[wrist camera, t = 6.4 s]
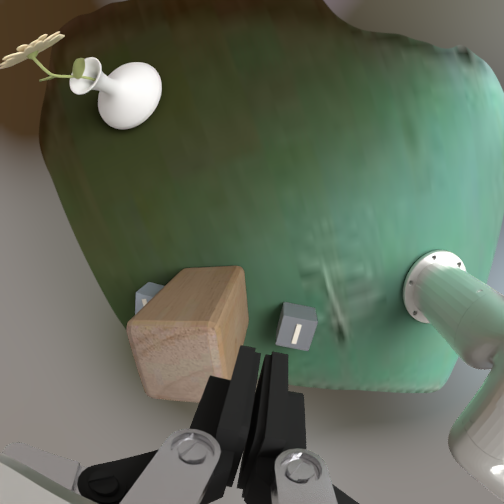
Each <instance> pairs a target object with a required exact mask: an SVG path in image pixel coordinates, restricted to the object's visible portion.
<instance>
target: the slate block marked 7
mask: <svg viewBox="0 0 504 504" xmlns="http://www.w3.org/2000/svg"><path fill="white" fill-rule="evenodd" d="M163 287H164V286H163V285H159V284H155V283H151V282H148V283H147V284H145V285H144V286H143V287H142V288H141V289H139V290H138V291H137V292H136V302H135V315H136V314H137V313H138V312H139V311H140V310H141V309H142V308H143V307H144V306H145V305H146V304H147V303H148V302H149V301H150V300H151V299H152V298H153V297H154V296H155V295H156V294H157V293H158V292H159V291H160V290H161V289H162V288H163Z"/></svg>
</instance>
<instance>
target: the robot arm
mask: <svg viewBox="0 0 504 504" xmlns="http://www.w3.org/2000/svg"><path fill="white" fill-rule="evenodd" d="M432 256H433V257H432ZM409 281H410V282H409ZM403 300H404V304H405V307H406V309H407V311H408V312H409V314H410V315H411V316H412V317H413V318H414V319H416V320H417V321H420V322H422V323H431V324H432V325H433V326H434V328H435V329H436V330H437V331H438V332H439V333H440V334H441V336H442V337H443V338H444V339H445V340H446V341H447V343H448V344H449V345H450V346H451V347H452V348H453V350H454V351H455V352H456V353H457V354H458V356H459V357H460V358H461V359H462V360H463V361H464V362H465V363H466V364H467V365H469V366H471V367H473V368H476V369H484V370H485V369H491V371H490V373H489V374H488V376H487V378H486V379H485V381H484V383H483V385H482V386H481V388H480V389H479V390H478V392H477V393H476V395H475V396H474V397H473V399H472V400H471V401H470V403H469V404H468V406H467V407H466V408H465V409H464V411H463V412H462V413H461V415H460V416H459V417H458V419H457V420H456V421H455V423H454V424H453V426H452V428H451V430H450V433H449V436H448V446H449V449H450V452H451V454H452V456H453V457H454V459H455V460H456V462H457V463H458V464H459V465H460V466H461V467H462V468H463V469H464V470H465V471H466V472H467V473H469V474H470V475H471V476H472V477H473V478H474V479H476V480H477V481H478V482H479V483H480V484H482V485H483V486H484V487H485V488H487V489H488V490H489V491H490V492H491V493H493V494H494V495H495V496H496V497H498V498H499V499H500V500H501V501H503V502H504V296H503V295H502V294H500V293H499V292H497V291H496V290H494V289H493V288H491V287H489V286H488V285H486V284H485V283H483V282H482V281H480V280H478V279H477V278H475V277H474V276H472V275H470V274H469V273H467V272H466V269H465V266H464V264H463V262H462V261H461V259H460V258H459V257H458V256H456V255H455V254H454V253H452V252H450V251H446V250H435V251H431V252H429V253H426V254H425V255H423V256H422V257H420V258H419V259H418V260H417V261H416V262H415V263H414V265H413V266H412V267H411V269H410V271H409V272H408V274H407V277H406V279H405V282H404V287H403ZM255 349H256V348H252V347H248V346H243V345H240V348H239V352H238V355H237V359H236V363H235V366H234V370H233V374H232V377H231V380H228V379H224V378H219V377H215V376H211V375H210V377H209V379H208V381H207V384H206V387H205V389H204V392H203V395H202V397H201V400H200V403H199V405H198V408H197V411H196V413H195V416H194V418H193V421H192V424H191V426H190V429H182V430H178V431H176V432H174V433H172V434H171V435H170V436H169V437H168V438H167V439H166V441H165V442H164V443H163V445H162V446H161V448H160V449H159V450H155V451H152V452H148V453H145V454H141V455H137V456H134V457H129V458H125V459H121V460H117V461H112V462H107V463H103V464H98V465H94V466H91V467H85V466H82V465H80V463H79V462H77V461H74V460H70V459H67V458H64V457H61V456H58V455H55V454H52V453H49V452H46V451H43V450H41V449H38V448H35V447H33V446H30V445H28V444H25V443H20V442H16V443H11V444H9V445H7V446H6V447H5V449H4V450H3V452H2V453H0V504H209V503H210V502H213V501H215V500H217V499H219V498H222V497H223V494H224V491H225V488H226V486H229V487H232V485H233V481H234V478H235V475H236V472H237V469H238V466H239V463H240V460H241V457H242V462H241V468H240V473H239V479H238V484H237V488H240V489H243V494H242V497H243V498H244V501H245V502H246V503H247V504H359V503H358V502H356V501H355V500H353V499H352V498H350V497H349V496H348V495H346V494H345V493H344V492H342V491H341V490H339V489H338V488H337V487H335V486H334V485H333V484H332V482H331V478H330V475H329V471H328V468H327V465H326V463H325V461H324V460H323V459H322V458H321V457H320V456H319V455H317V454H316V453H314V452H312V451H309V450H306V429H305V408H304V395H303V394H302V393H296V392H290V391H288V354H283V353H277V352H272V354H271V355H265V358H264V362H263V366H262V370H261V373H260V377H259V381H258V385H257V388H256V383H257V376H258V370H259V363H260V356H261V353H256V352H255ZM255 390H256V392H255ZM242 453H243V456H242Z"/></svg>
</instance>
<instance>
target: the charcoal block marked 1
mask: <svg viewBox="0 0 504 504" xmlns="http://www.w3.org/2000/svg"><path fill="white" fill-rule="evenodd" d="M317 323H318V320H317V315H316V311H315V308H313V307H308V306H303V305H298V304H293V303H288V302H283V306H282V310H281V314H280V318H279V322H278V326H277V329H276V345H279V346H284V347H289V348H294V349H300V350H305V351H309V348H310V345H311V342H312V339H313V336H314V333H315V330H316V327H317Z"/></svg>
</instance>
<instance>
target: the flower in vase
mask: <svg viewBox="0 0 504 504" xmlns="http://www.w3.org/2000/svg"><path fill="white" fill-rule="evenodd" d="M59 33H60V32H56V33H55V34H52V35H51V36H49V37H48V38H46V36H47V34H44V35H42V36H40V37H39V38H38V39H37V40H35V41H33V42H32V43H30V44H29V45H21V46H19V47H18V48H17V51H20V52H18V53H14V54H11V55H8V56H6V57H4V58H3V59H2V60H6V61H5V62H3V63H1V64H0V66H1V65H3V66H2V67H0V68H6V67H10V66H13V65H15V64H17V63H19V62H21V61H23V60H25V59H27V58H29V59H33V60H34V61H35V62H36V64H37V65H38V66H39V67H40V68H41V69H42V70H43V71H45V72H46V73H47V74H48V75H50V76H49V77H47V78H44V79H40V80H39V81H40V82H41V81H43V80H49V79H53V78H55V77H59V78H70V88H71V90H72V91H73V92H74V93H75V94H84V93H87V92H88V91H90V90H99V91H100V92H99V96H98V109H99V112H100V115H101V117H102V118H103V120H104V121H105V122H106V123H107V124H108V125H109V126H111V127H113V128H116V129H130V128H133V127H136V126H138V125H140V124H141V123H143V122H144V121H145V120H146V119H147V118H148V117H149V116H150V115H151V114H152V113H153V112H154V110H155V108H156V107H157V105H158V103H159V100H160V97H161V91H162V84H161V79H160V76H159V74H158V72H157V71H156V70H155V69H154V68H153V67H152V66H151V65H148V64H146V63H142V62H132V63H127V64H124V65H122V66H120V67H118V68H117V69H115V70H114V71H113V72H112V73H111V74H110V75H109V76H106V75H105V74H104V73H103V72H102V71H101V64H100V62H99V60H98V59H96V58H93V57H90V58H86V59H84V58H79V59H77V60H75V62H74V65H73V72H72V74H71V75H56V74H53V73H51V72H49V71H48V70H47V69H46V68H45V67H44V66H43V65H42V64H41V63H40V62H39V61H38V60H37V59H36V58H35V57H36V56H37V54H38V53H39V52H41V51H43V50H45V49H46V48H48V47H50V46H52V45H53V44H55V43H56V42H58V41H59V40H60V39H62V38H63V37H64V36H65V35H61V34H59ZM58 34H59V35H58ZM45 38H46V39H45ZM44 39H45V40H44ZM7 59H8V60H7Z"/></svg>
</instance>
